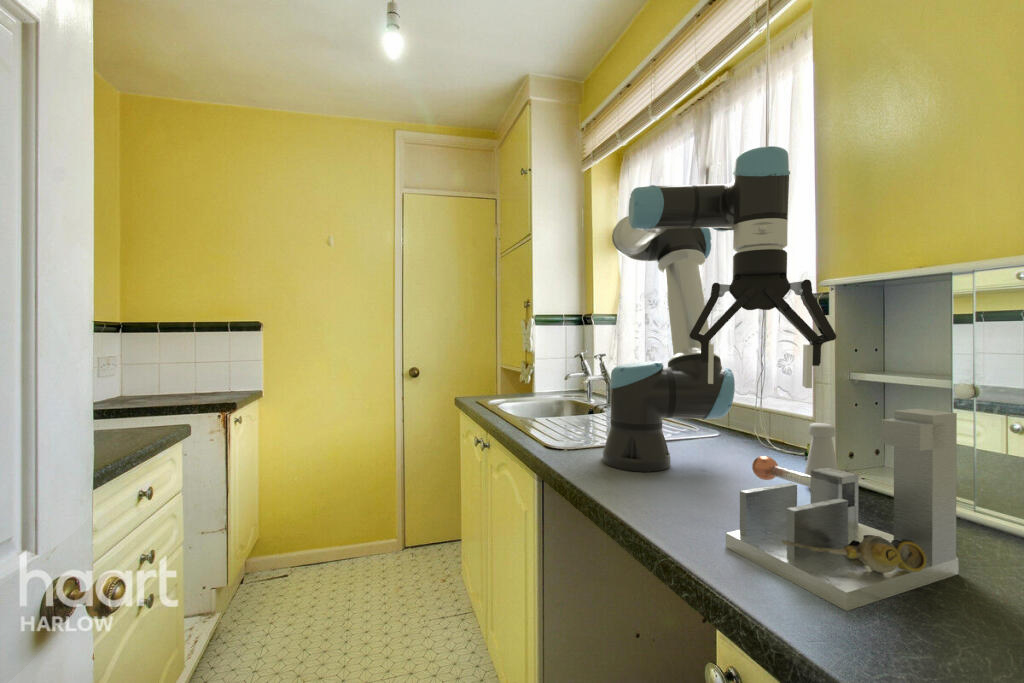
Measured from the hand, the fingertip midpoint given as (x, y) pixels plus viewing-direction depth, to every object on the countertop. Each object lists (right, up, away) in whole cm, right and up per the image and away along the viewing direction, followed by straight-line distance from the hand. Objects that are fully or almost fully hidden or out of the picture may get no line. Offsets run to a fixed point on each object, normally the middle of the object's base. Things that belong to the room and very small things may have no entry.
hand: (757, 385), depth 72 cm
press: (+3, -22, -13) cm, 25 cm away
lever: (+6, -17, +1) cm, 18 cm away
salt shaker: (+20, -22, +14) cm, 33 cm away
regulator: (-6, -18, -16) cm, 25 cm away
